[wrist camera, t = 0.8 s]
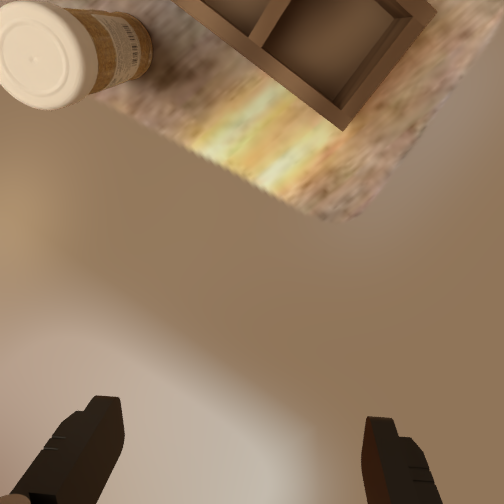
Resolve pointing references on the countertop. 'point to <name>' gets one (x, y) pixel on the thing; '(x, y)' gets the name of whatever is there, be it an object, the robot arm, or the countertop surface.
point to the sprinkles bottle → (68, 52)
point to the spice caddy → (319, 44)
